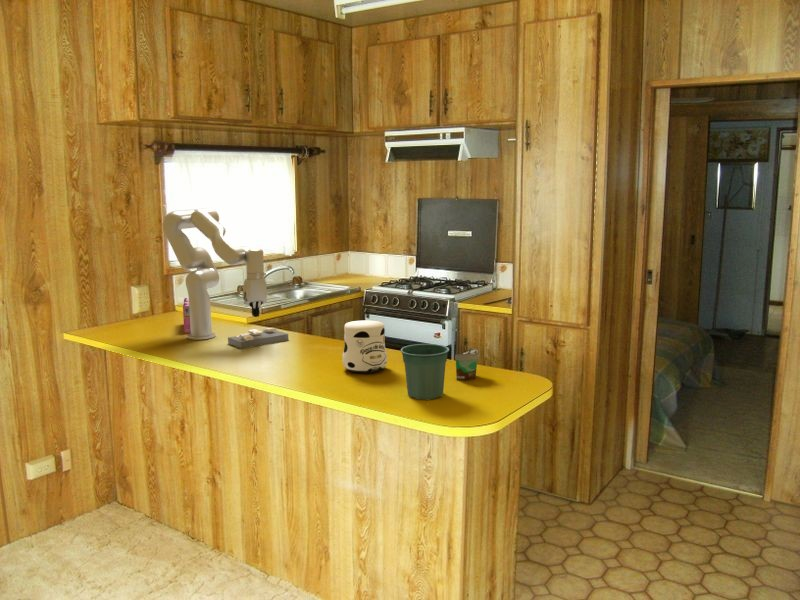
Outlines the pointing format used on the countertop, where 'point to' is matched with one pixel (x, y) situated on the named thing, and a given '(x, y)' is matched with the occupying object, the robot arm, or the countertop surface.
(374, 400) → the countertop surface
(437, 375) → the flower pot
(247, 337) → the rocker near
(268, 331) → the rocker far
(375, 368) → the milk container
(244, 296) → the robot arm
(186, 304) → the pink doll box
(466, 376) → the food container
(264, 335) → the switch panel
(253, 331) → the rocker mid
